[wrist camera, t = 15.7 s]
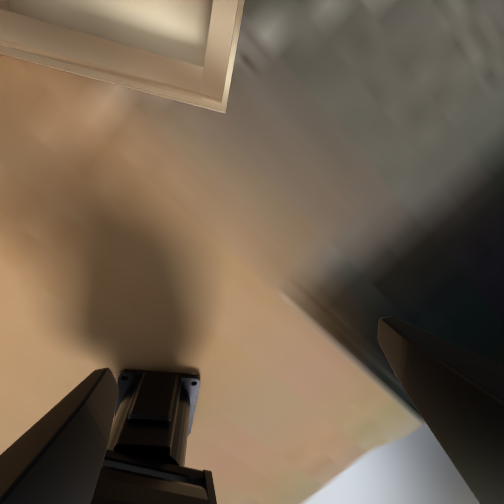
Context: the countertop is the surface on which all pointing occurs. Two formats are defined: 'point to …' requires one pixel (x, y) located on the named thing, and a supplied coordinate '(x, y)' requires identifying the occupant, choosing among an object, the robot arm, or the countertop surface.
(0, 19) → the square tray
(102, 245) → the countertop surface
